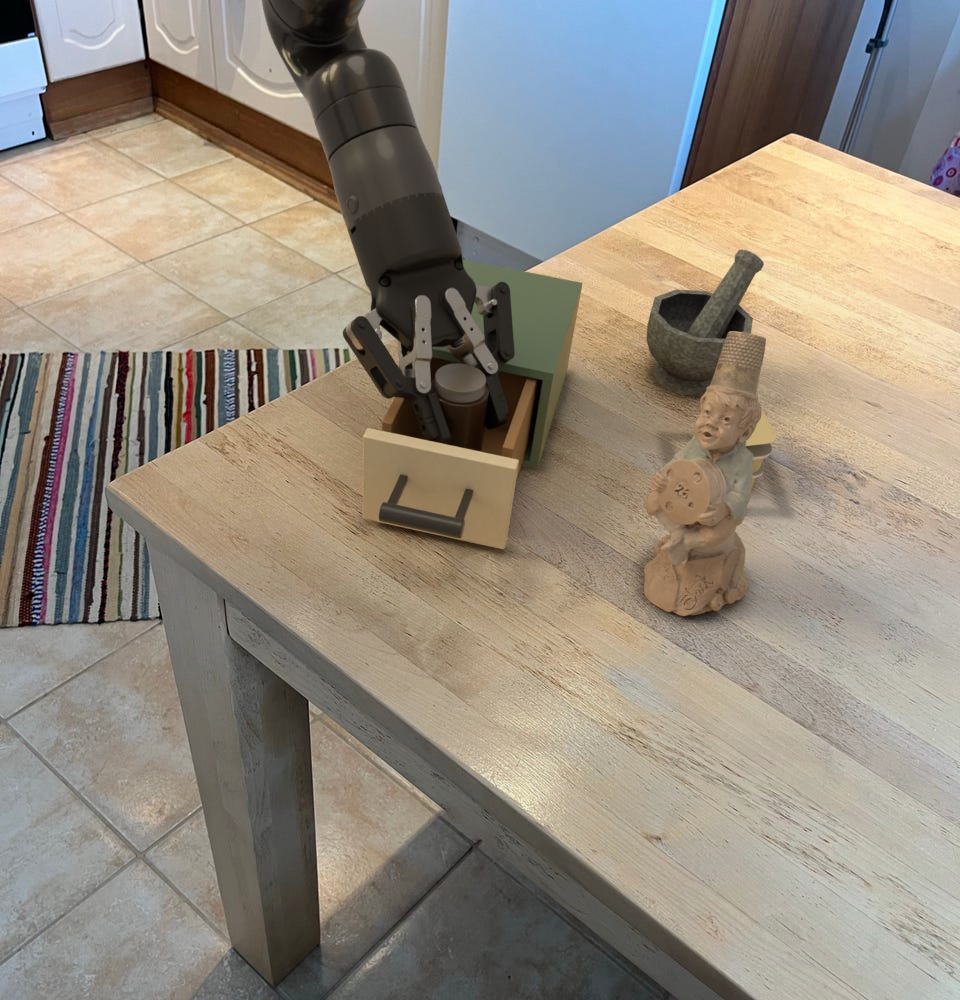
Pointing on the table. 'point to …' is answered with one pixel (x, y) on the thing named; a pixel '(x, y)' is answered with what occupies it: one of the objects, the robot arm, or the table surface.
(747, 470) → the figurine
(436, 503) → the drawer
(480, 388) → the pepper mill
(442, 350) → the cabinet
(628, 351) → the table surface
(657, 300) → the mortar and pestle
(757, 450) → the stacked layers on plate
